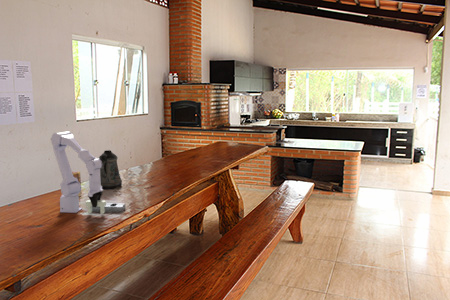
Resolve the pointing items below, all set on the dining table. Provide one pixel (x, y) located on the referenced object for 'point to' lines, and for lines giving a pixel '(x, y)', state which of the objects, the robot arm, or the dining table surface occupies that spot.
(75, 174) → the candy box
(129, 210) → the dining table surface
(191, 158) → the dining table surface
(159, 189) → the dining table surface
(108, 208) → the grey block with holes
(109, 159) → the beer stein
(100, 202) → the notched cream block
